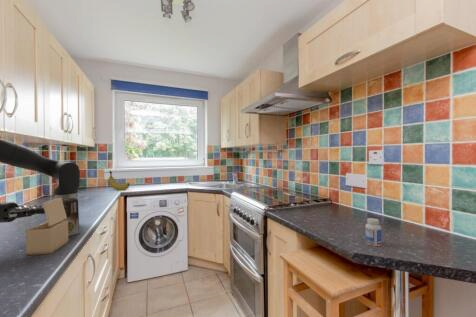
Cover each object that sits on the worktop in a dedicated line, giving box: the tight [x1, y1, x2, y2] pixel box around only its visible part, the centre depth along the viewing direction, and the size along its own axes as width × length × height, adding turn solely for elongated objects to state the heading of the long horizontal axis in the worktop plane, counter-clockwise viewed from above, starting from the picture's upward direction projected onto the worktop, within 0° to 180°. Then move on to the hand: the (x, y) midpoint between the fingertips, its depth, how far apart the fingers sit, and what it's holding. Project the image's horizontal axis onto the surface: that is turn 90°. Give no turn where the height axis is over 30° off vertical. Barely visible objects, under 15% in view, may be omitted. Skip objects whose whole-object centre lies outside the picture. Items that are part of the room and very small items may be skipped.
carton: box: [25, 221, 70, 256], centre depth 86 cm, size 11×8×9 cm
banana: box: [107, 170, 130, 191], centre depth 226 cm, size 23×6×20 cm, turn 83°
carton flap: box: [42, 197, 67, 226], centre depth 86 cm, size 10×1×9 cm, turn 10°
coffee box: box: [62, 198, 80, 237], centre depth 100 cm, size 9×6×16 cm
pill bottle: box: [364, 217, 383, 247], centre depth 87 cm, size 6×5×10 cm
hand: (49, 210), depth 86 cm, fingers closed
